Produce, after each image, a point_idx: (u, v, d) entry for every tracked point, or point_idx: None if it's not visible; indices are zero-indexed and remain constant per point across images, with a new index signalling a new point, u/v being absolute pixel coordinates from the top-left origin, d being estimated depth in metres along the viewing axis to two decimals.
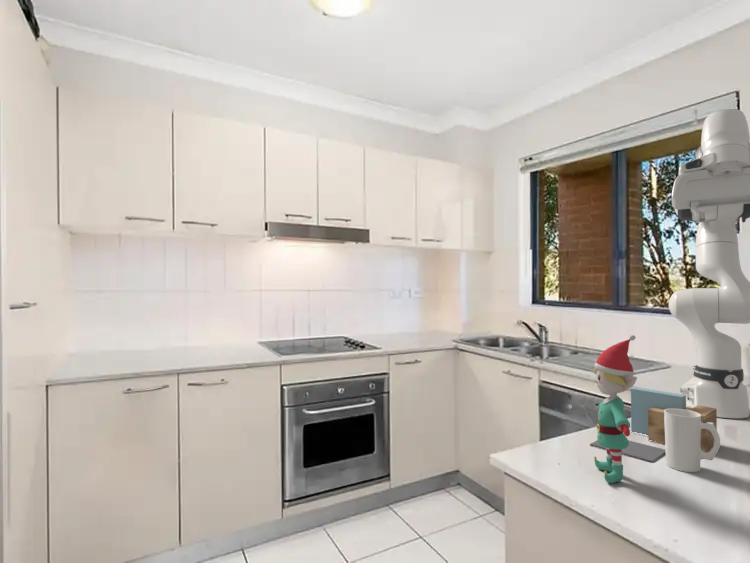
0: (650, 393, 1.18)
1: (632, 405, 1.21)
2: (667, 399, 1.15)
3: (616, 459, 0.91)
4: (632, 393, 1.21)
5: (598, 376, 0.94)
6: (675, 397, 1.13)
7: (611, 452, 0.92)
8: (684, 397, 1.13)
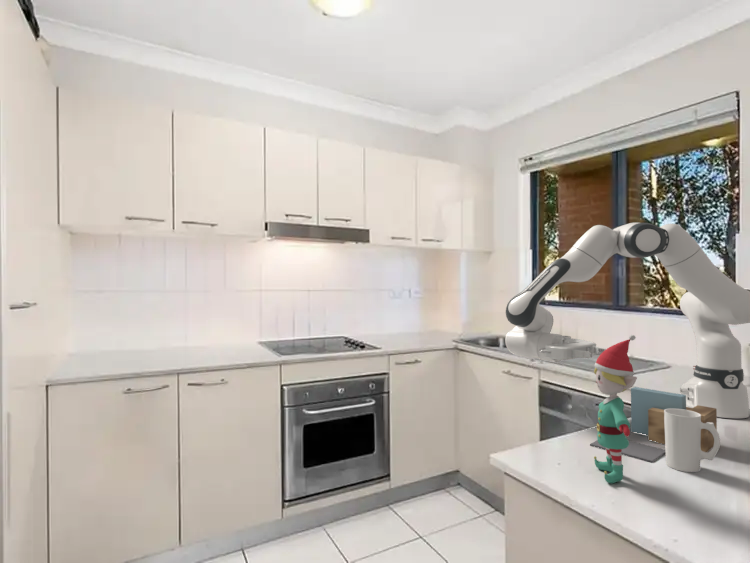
0: (650, 393, 1.18)
1: (632, 405, 1.21)
2: (667, 399, 1.15)
3: (616, 459, 0.91)
4: (632, 393, 1.21)
5: (598, 376, 0.94)
6: (675, 397, 1.13)
7: (611, 452, 0.92)
8: (684, 397, 1.13)
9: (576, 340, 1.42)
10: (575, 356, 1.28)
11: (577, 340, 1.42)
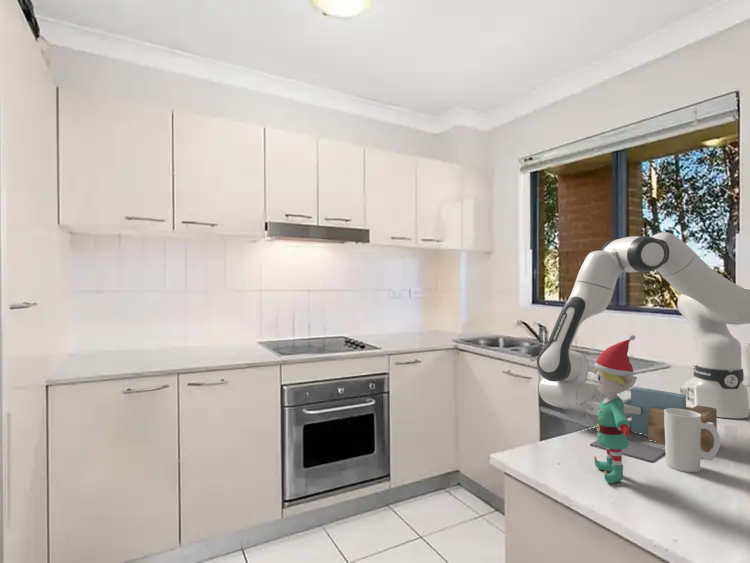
0: (650, 393, 1.18)
1: (633, 405, 1.21)
2: (667, 398, 1.15)
3: (616, 459, 0.91)
4: (632, 393, 1.21)
5: (598, 376, 0.94)
6: (675, 397, 1.13)
7: (611, 452, 0.92)
8: (684, 397, 1.13)
9: None
10: (624, 412, 1.20)
11: None
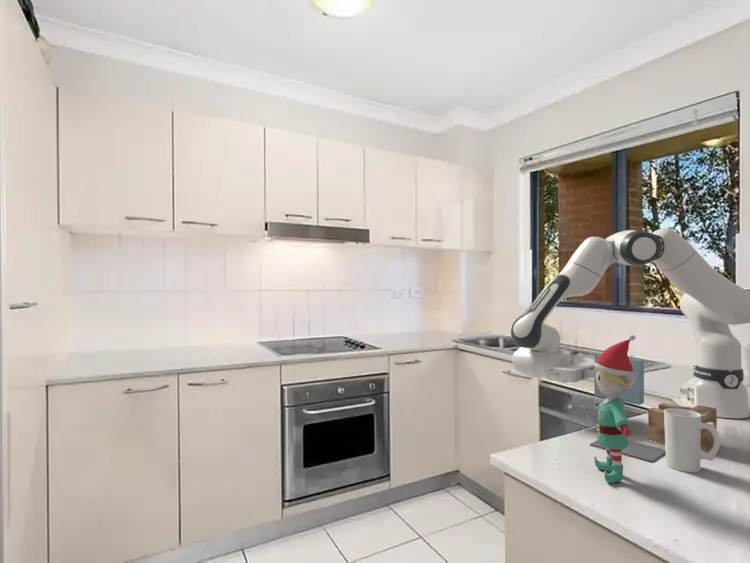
0: None
1: None
2: None
3: (616, 459, 0.91)
4: (596, 359, 1.29)
5: (598, 376, 0.94)
6: (634, 361, 1.21)
7: (611, 452, 0.92)
8: (642, 361, 1.21)
9: (584, 359, 1.41)
10: (588, 376, 1.28)
11: (585, 359, 1.41)
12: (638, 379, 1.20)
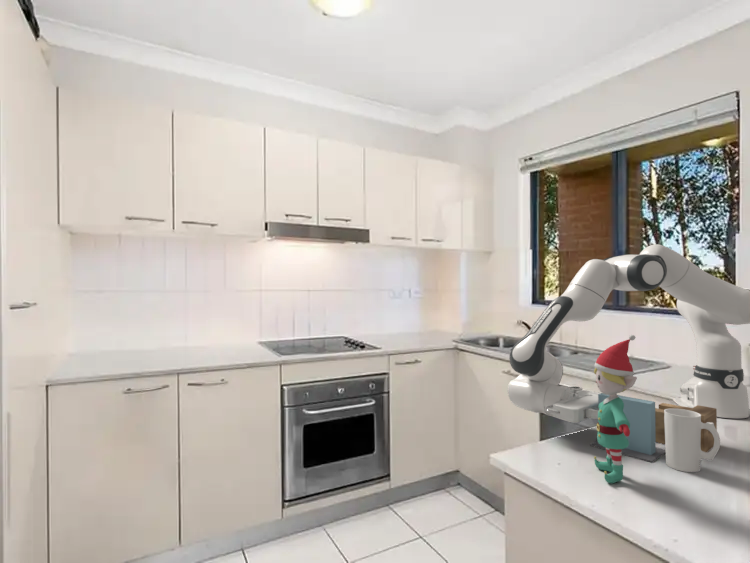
0: None
1: None
2: (635, 406, 1.07)
3: (616, 459, 0.91)
4: (599, 399, 1.13)
5: (598, 376, 0.94)
6: (643, 404, 1.05)
7: (611, 452, 0.92)
8: (653, 404, 1.05)
9: (588, 392, 1.25)
10: (590, 416, 1.11)
11: (589, 392, 1.25)
12: (649, 425, 1.04)
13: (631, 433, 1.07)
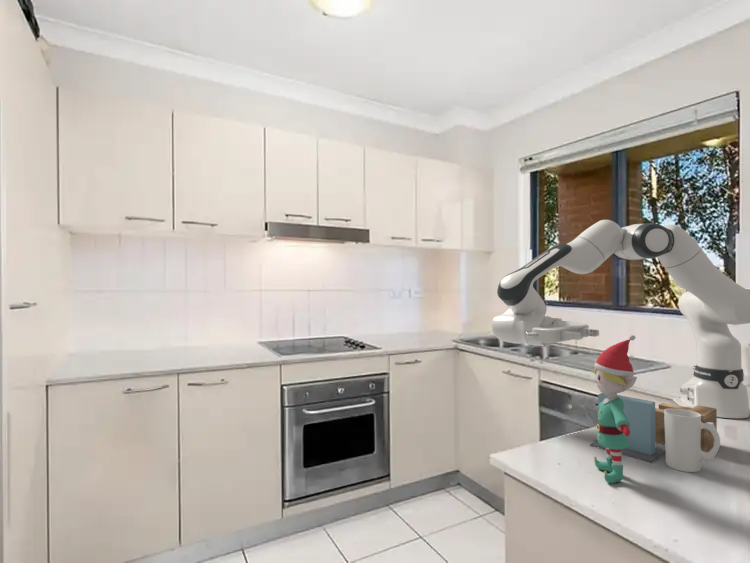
0: None
1: None
2: (635, 406, 1.07)
3: (616, 459, 0.91)
4: (599, 399, 1.13)
5: (598, 376, 0.94)
6: (643, 404, 1.05)
7: (611, 452, 0.92)
8: (653, 404, 1.05)
9: (567, 322, 1.31)
10: (564, 338, 1.17)
11: (568, 322, 1.31)
12: (649, 425, 1.04)
13: (631, 433, 1.07)
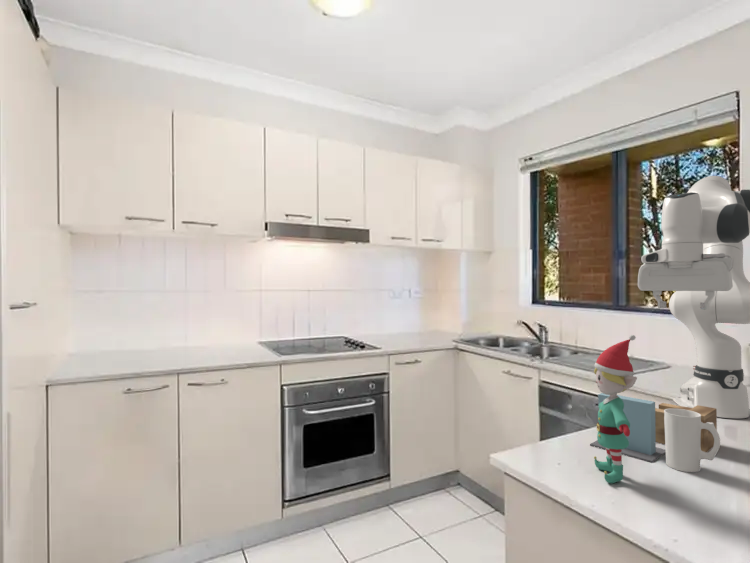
0: None
1: None
2: (635, 406, 1.07)
3: (616, 459, 0.91)
4: (599, 399, 1.13)
5: (598, 376, 0.94)
6: (643, 404, 1.05)
7: (611, 452, 0.92)
8: (653, 404, 1.05)
9: None
10: (712, 295, 1.09)
11: None
12: (649, 425, 1.04)
13: (631, 433, 1.07)
